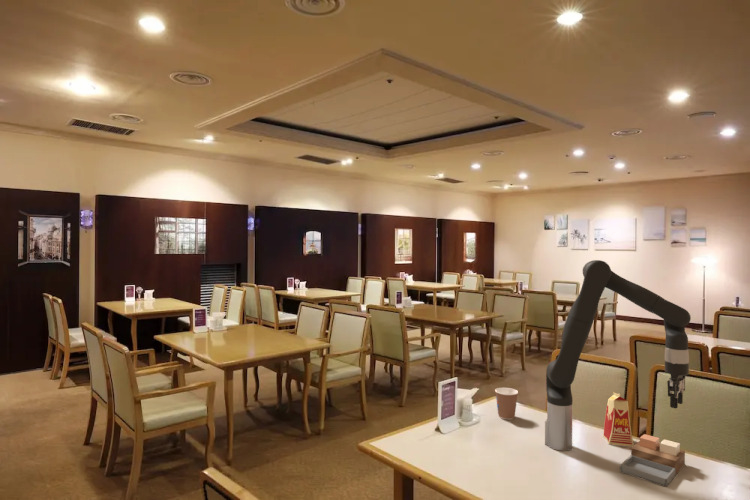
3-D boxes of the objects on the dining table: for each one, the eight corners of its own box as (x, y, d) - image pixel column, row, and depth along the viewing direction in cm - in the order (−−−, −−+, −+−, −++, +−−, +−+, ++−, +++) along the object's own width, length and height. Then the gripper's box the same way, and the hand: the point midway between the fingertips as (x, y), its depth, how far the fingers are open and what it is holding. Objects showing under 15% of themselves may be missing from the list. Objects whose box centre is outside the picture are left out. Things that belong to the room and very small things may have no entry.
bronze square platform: (631, 461, 170) (631, 448, 170) (641, 451, 178) (642, 438, 178) (675, 475, 160) (675, 461, 160) (684, 464, 168) (684, 450, 168)
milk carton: (634, 446, 183) (634, 396, 182) (608, 444, 184) (609, 394, 184) (626, 437, 192) (626, 389, 191) (602, 435, 193) (602, 387, 193)
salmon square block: (639, 445, 172) (639, 437, 172) (644, 441, 175) (644, 434, 175) (655, 450, 168) (655, 441, 168) (659, 446, 172) (659, 438, 171)
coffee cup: (499, 411, 221) (499, 386, 221) (521, 415, 216) (521, 390, 215) (491, 417, 213) (491, 391, 213) (513, 422, 207) (513, 395, 207)
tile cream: (659, 451, 167) (659, 443, 167) (663, 447, 170) (663, 439, 170) (675, 456, 163) (675, 447, 163) (679, 451, 167) (679, 443, 167)
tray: (620, 471, 162) (620, 464, 162) (631, 461, 170) (631, 455, 170) (666, 486, 152) (666, 479, 152) (675, 475, 160) (675, 468, 160)
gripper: (670, 355, 180) (670, 398, 180) (659, 361, 170) (659, 407, 170) (693, 358, 174) (693, 403, 174) (683, 365, 164) (683, 413, 165)
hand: (676, 405), depth 172 cm, fingers open, 6 cm apart
